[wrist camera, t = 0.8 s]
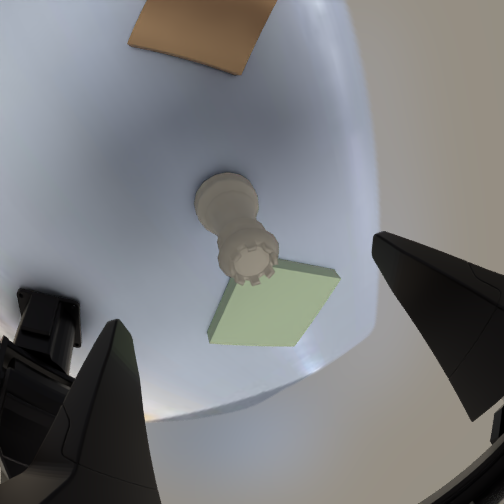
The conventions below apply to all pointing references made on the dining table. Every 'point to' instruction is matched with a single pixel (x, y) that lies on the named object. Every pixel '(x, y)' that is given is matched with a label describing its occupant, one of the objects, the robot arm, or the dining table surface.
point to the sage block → (272, 306)
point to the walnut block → (203, 30)
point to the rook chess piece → (237, 227)
